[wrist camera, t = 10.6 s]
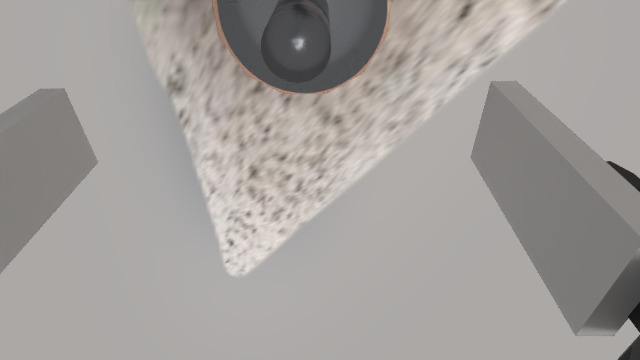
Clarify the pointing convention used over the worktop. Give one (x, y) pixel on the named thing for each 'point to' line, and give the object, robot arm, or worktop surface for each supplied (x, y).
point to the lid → (303, 39)
